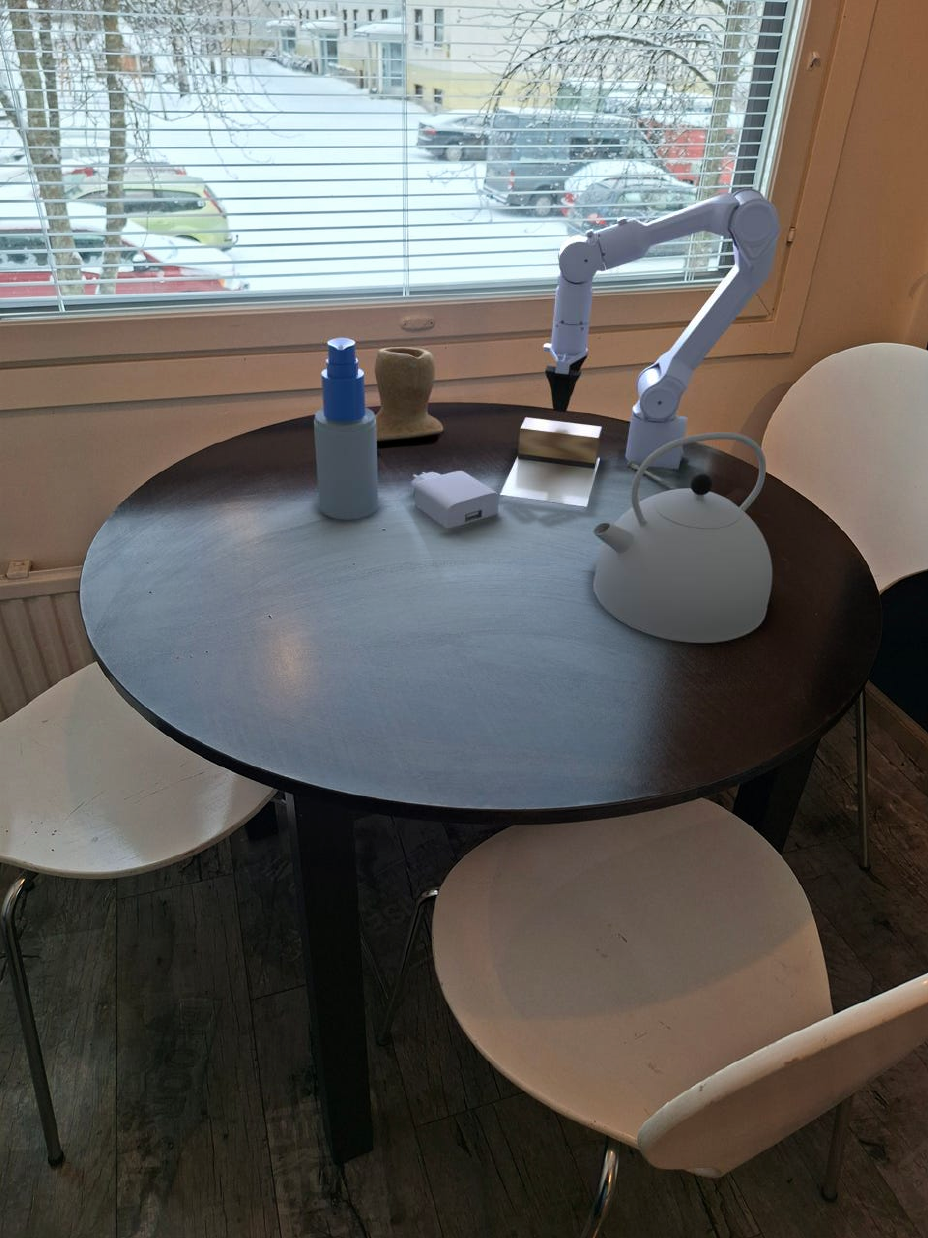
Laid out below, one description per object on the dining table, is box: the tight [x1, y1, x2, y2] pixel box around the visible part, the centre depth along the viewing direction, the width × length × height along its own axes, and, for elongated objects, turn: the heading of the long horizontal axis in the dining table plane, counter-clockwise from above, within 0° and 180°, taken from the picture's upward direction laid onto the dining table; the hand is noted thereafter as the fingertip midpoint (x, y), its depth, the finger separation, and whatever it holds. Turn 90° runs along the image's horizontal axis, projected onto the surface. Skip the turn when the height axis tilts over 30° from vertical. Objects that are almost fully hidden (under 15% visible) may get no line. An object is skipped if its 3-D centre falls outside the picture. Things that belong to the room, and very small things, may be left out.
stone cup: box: [374, 346, 444, 442], centre depth 153 cm, size 15×12×15 cm
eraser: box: [517, 416, 603, 469], centre depth 147 cm, size 13×5×6 cm, turn 77°
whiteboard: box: [499, 456, 601, 508], centre depth 143 cm, size 15×20×1 cm
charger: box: [409, 470, 500, 530], centre depth 133 cm, size 5×9×15 cm
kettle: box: [592, 431, 773, 644], centre depth 110 cm, size 25×23×22 cm
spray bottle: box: [313, 337, 379, 520], centre depth 126 cm, size 9×9×25 cm
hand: (562, 402), depth 145 cm, fingers open, 7 cm apart
